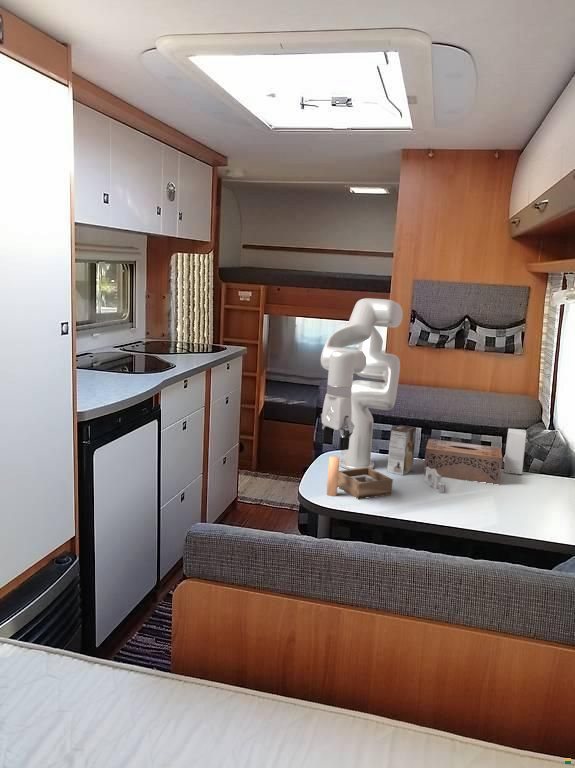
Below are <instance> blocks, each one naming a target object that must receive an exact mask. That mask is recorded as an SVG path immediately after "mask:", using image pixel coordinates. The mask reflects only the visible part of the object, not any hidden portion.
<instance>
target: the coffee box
mask: <svg viewBox="0 0 575 768" xmlns="http://www.w3.org/2000/svg"><path fill="white" fill-rule="evenodd" d="M416 432H417V427H415V426H411V425H405V424H399V425H397V426H394V427H392V428H390V436H389V447H388V457H387V458H388V459H387V472H388V473H391V474H395V475H398V476H399V475H400V476H405V475H406V474H408V473H409V472H410V471H412V470H413V466H414V457H415V455H414V453H415V446H416V445H415V444H416V434H417V433H416Z"/></svg>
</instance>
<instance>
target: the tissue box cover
mask: <svg viewBox="0 0 575 768" xmlns="http://www.w3.org/2000/svg"><path fill="white" fill-rule="evenodd" d="M502 465H503V454H502V449H501V447H498V446H489V445H481V444H475V443H465V442H457V441H450V440H441V439H434V438H433V439H432V438H428V439H427V444H426V447H425V454H424V465H423V473H422V474H423V475H426V469H425V468H426V467H429V468H430V469H435V470H436V471H437V473H438V474H439V475H440V476H441V478H447V479H452V480H453V479H454V480H460V481H466V480H467V482H473V481H477V482H476V483H480V482H486V483H485V484H487V483H493V484H492V485H494V484H499V485H500V481H501V474H502Z"/></svg>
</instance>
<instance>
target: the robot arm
mask: <svg viewBox="0 0 575 768" xmlns="http://www.w3.org/2000/svg"><path fill="white" fill-rule="evenodd" d="M403 313H404V311H403V308H402V305H400V303H398V302H396V301H394V300H391V299H383V298H370V297H369V298H368V297H367V298H362V299H359V300H357V302H356V303H355V305H354V307H353V310H352V313H351V315H350V317H349V320H348V323H347V325H345V326H342V327H341V328H339V329H338V330H336V331H334V332H333V333H332V334H330V335H329V337H328V338H327V339H326V341H325V343H324V346H323V348H322V352H321V355H320V366H321V367H322V368H323V369H324V370H326V371H327V374H328V375H327V384H326V385H327V386H326V394H325V395H324V396H325V397H324V401H323V406H322V413H320V419H321V425H322V426H321V428H322V435H321V436H322V437H321V442H322V443H331V442H332V440H333V439H332V437H333V430H335V431H338V432H339V434H340V436H339V443H338V450H339V451H340V454H341V455H343V458H340V460H339V467H340V466H341V467H342V468H344V469H345V470H351V469H359V468H368V467H369V468H371V469H373V468H374V467H375V463H374V462H373V461H371V456H372V445H373V443H372V442H373V431H374V417H373V414H372V413H371V411H370V410H369V409H375V410H383V411H384V410H385V411H388V410H391V409H393V408H394V406H395V404H396V398H397V393H398V392H397V391H398V385H399V378H400V373H401V362H400V357H398V356H397V355H396V354H392V353H386V352H382V350H383V343H384V341H383V337H382V335H381V334H380V332H379V331H378V329H377V328H376V327H382V328H383V327H384V328H398V327H399V326H400V325H401V323H402V321H403V316H404V314H403ZM354 345H358V347H357V349H356V348H355V349H354V348H347V347H350V346H354ZM354 374H356V375H357V376H359V377H361V378H364V379H365V378H366V379H373V380H382V381H383V382H380V381H372V380H363V379H357V380H354V379H353V378H354ZM373 470H374V469H373Z"/></svg>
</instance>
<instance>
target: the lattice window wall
mask: <svg viewBox="0 0 575 768" xmlns="http://www.w3.org/2000/svg"><path fill="white" fill-rule="evenodd" d="M425 469H426V475H425V478H424V482H425V483H426V484H427V485H428V486H429V485H430V486H429V487H432V488H433V489H434V490H436V492H438V493H440V494H441V493H443V494H444V492H445V484H444V483H442V482H441V478H442V477H441V476H440V475H439V474H438V473H437V471H436V470H435V469H430V468H429V467H426V468H425Z"/></svg>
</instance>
